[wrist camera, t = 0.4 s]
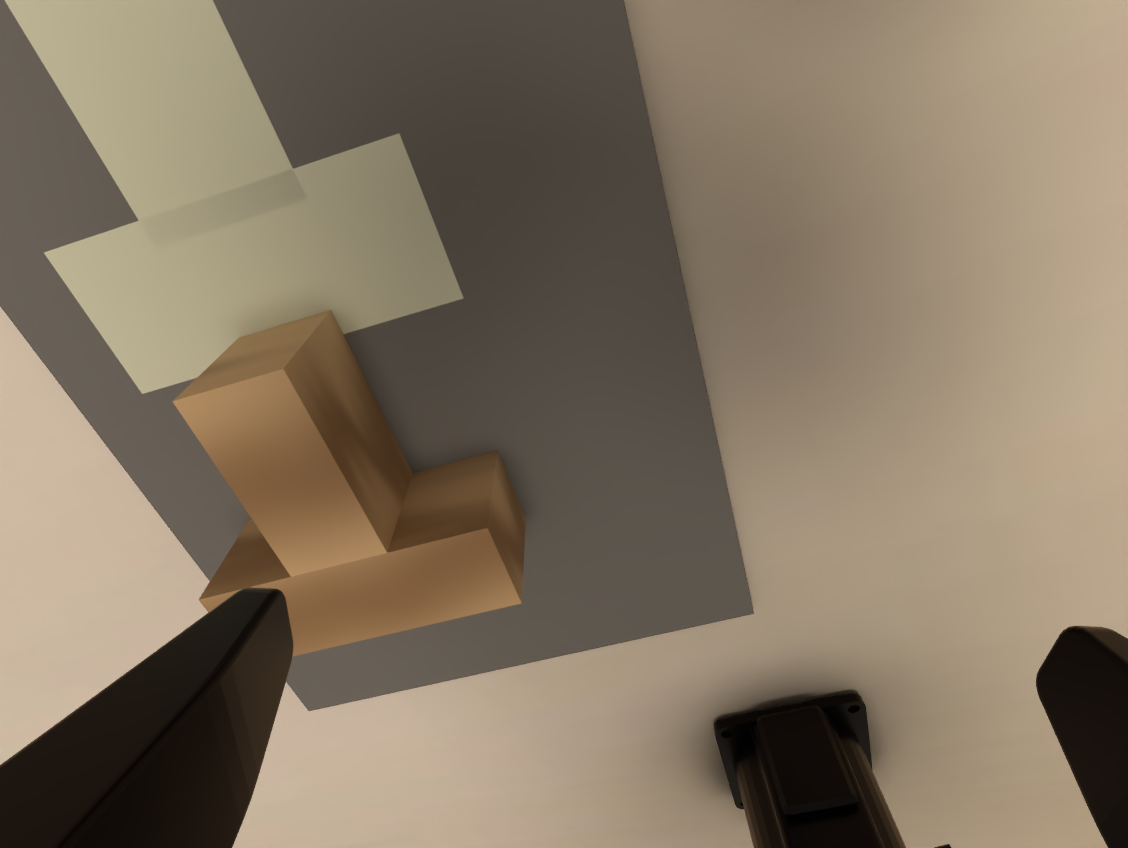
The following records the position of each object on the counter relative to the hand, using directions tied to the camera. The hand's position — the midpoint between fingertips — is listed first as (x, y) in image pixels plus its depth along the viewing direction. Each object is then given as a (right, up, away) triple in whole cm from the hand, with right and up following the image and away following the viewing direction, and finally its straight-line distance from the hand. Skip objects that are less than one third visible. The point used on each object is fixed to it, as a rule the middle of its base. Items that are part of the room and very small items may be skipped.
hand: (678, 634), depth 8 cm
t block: (-8, +2, +14) cm, 16 cm away
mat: (-7, +4, +13) cm, 15 cm away
